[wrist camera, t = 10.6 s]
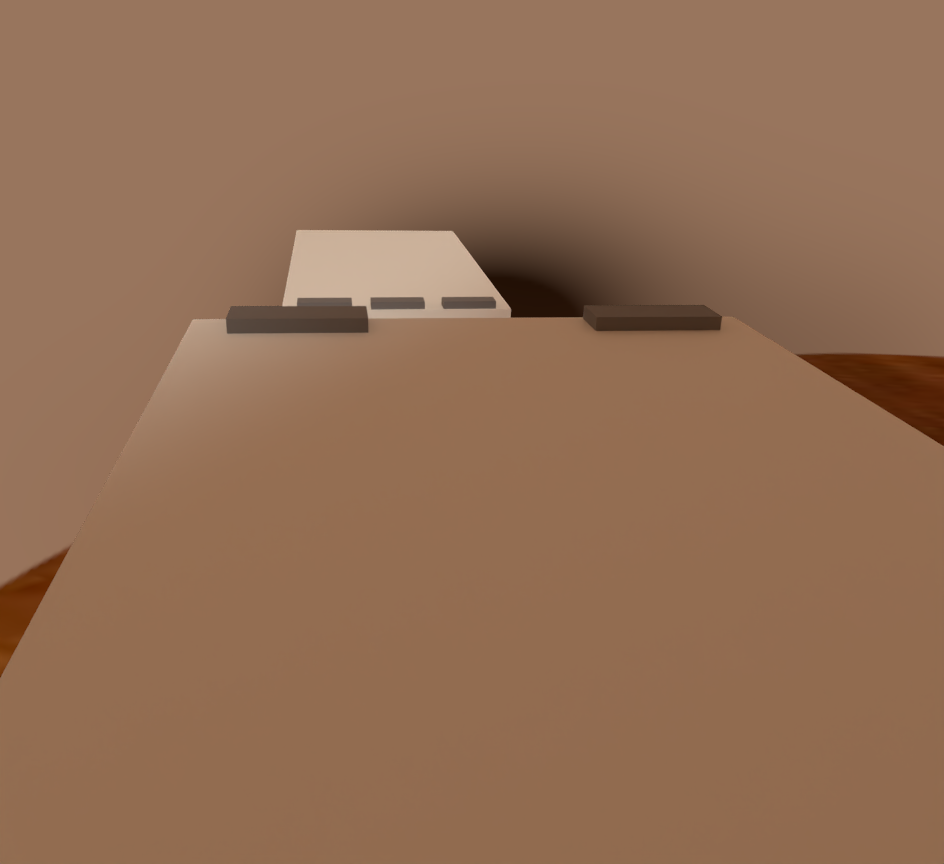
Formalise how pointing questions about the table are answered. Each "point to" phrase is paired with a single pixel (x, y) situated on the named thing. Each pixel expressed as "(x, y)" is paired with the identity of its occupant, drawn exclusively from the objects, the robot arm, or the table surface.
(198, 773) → the stub
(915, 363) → the table surface
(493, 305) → the white slotted block
